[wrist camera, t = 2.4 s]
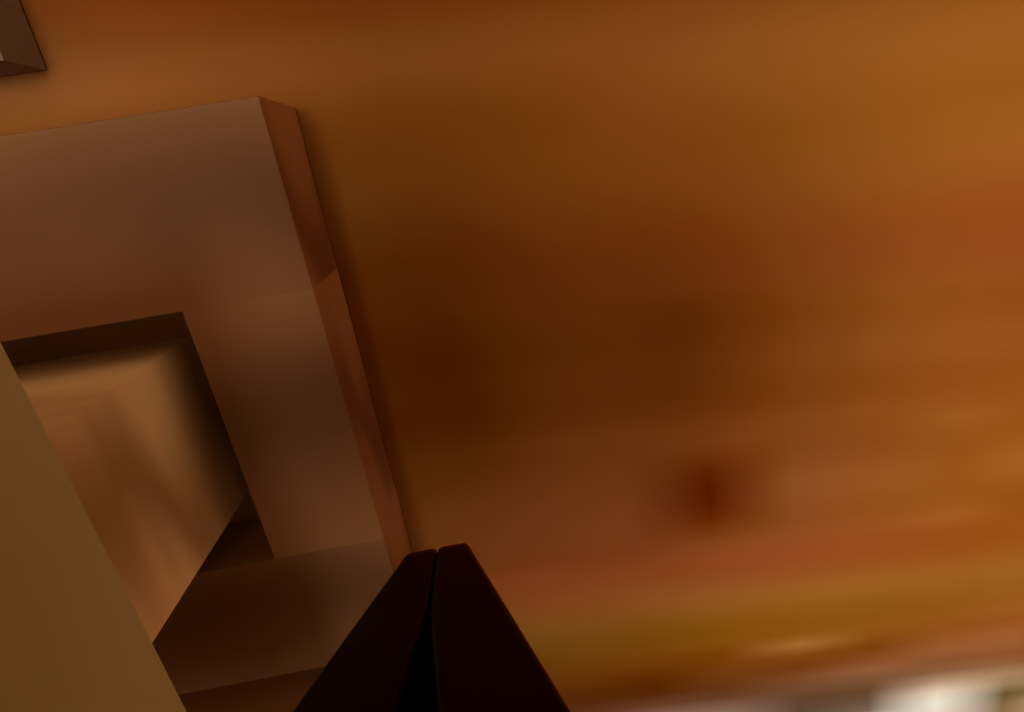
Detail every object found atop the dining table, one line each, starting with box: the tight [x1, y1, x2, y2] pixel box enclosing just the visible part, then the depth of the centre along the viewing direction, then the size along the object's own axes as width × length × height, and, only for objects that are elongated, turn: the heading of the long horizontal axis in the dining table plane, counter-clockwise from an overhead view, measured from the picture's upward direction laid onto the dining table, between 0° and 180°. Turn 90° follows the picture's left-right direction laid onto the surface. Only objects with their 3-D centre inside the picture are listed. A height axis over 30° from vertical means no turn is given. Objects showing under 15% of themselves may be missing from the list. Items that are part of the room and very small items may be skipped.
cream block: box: [13, 336, 249, 643], centre depth 12 cm, size 4×4×6 cm
